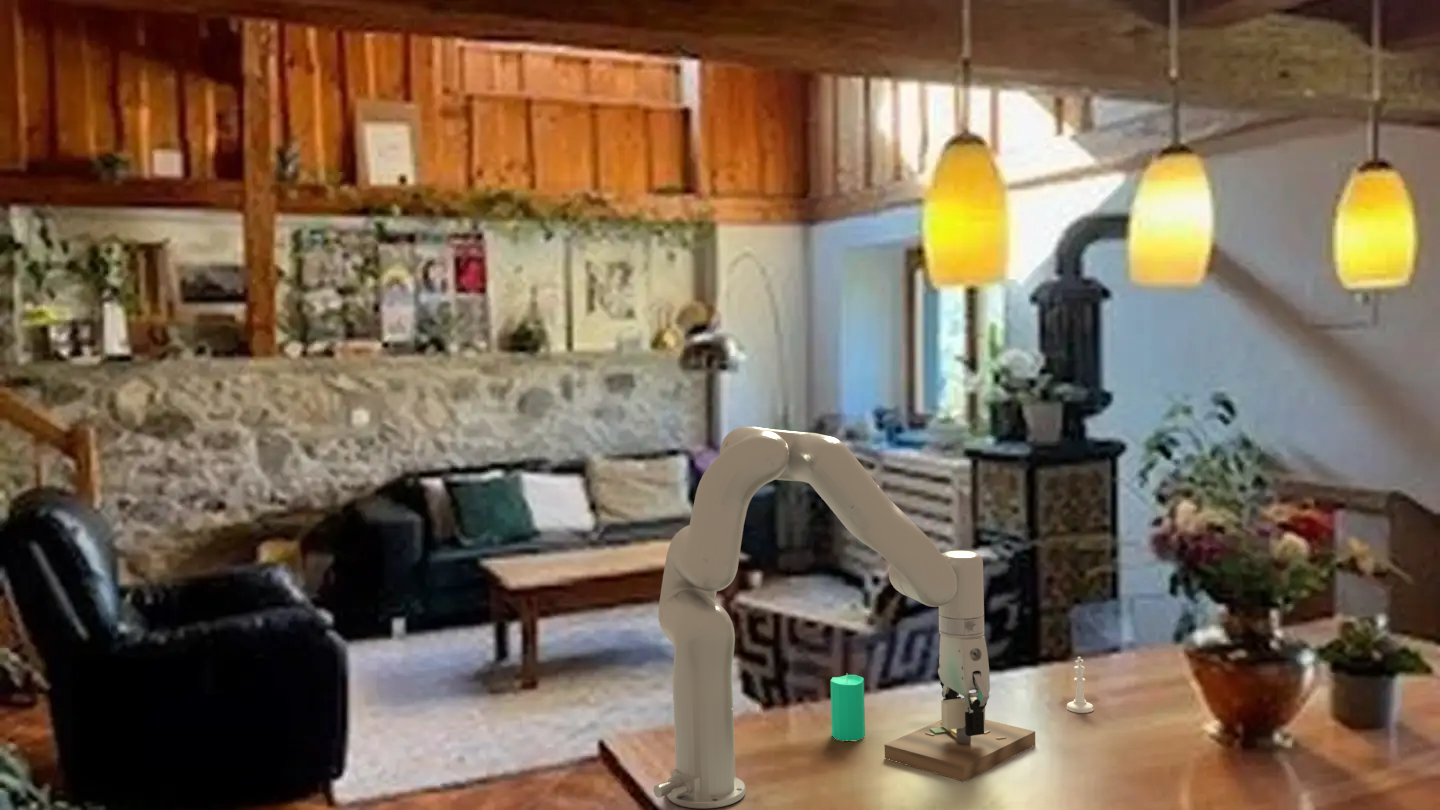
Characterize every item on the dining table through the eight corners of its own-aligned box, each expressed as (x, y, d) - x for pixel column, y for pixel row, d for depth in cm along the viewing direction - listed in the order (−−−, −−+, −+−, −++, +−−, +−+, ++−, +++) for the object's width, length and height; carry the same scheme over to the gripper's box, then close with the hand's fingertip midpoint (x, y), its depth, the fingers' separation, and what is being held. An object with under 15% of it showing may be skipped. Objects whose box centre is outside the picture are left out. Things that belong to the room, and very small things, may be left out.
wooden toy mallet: (985, 741, 207) (985, 700, 206) (947, 746, 205) (946, 704, 205) (960, 723, 216) (959, 683, 216) (923, 727, 215) (922, 687, 214)
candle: (864, 730, 223) (863, 666, 222) (865, 742, 217) (863, 675, 216) (831, 730, 223) (830, 666, 222) (831, 741, 217) (830, 675, 217)
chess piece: (1060, 707, 232) (1060, 656, 232) (1081, 703, 234) (1080, 652, 234) (1078, 714, 228) (1078, 662, 227) (1099, 710, 230) (1098, 658, 229)
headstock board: (964, 781, 197) (963, 764, 196) (884, 758, 208) (884, 742, 208) (1035, 745, 212) (1035, 729, 212) (957, 726, 223) (957, 711, 223)
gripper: (1007, 634, 199) (1009, 740, 200) (957, 611, 215) (959, 710, 216) (966, 639, 196) (968, 746, 198) (918, 615, 213) (920, 715, 214)
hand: (963, 726), depth 207 cm, fingers open, 7 cm apart
